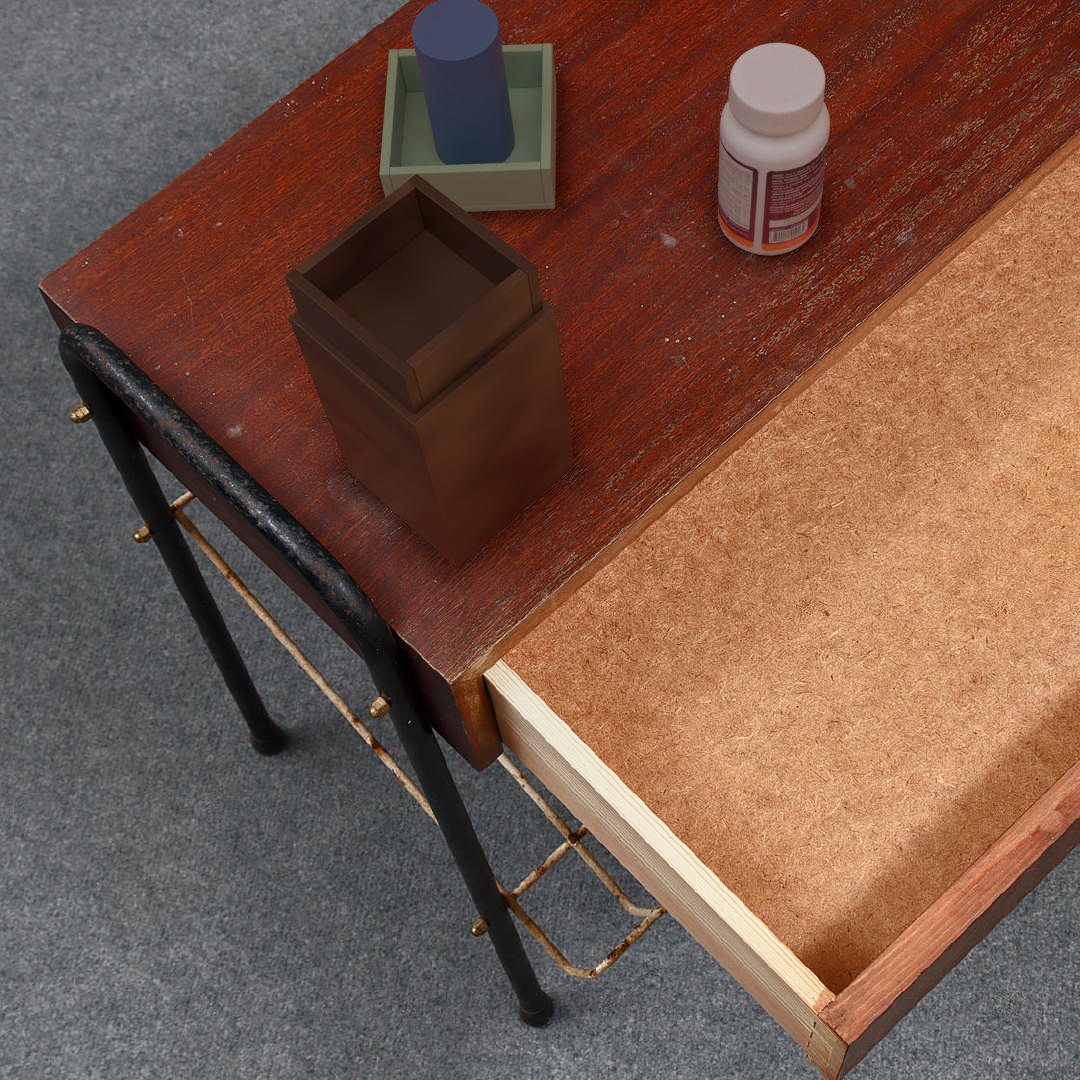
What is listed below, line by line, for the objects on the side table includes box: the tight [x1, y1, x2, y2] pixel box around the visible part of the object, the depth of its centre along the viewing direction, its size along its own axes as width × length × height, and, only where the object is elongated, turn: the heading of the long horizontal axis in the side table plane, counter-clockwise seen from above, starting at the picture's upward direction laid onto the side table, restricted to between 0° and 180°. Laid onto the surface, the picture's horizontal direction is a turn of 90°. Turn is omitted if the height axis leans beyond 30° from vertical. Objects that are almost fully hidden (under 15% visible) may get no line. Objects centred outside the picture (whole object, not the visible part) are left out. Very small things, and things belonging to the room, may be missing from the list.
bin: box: [378, 42, 558, 213], centre depth 90 cm, size 10×10×4 cm
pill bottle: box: [717, 42, 831, 256], centre depth 83 cm, size 6×6×11 cm
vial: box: [411, 0, 515, 165], centre depth 87 cm, size 5×5×9 cm
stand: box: [284, 174, 575, 569], centre depth 74 cm, size 9×9×17 cm
